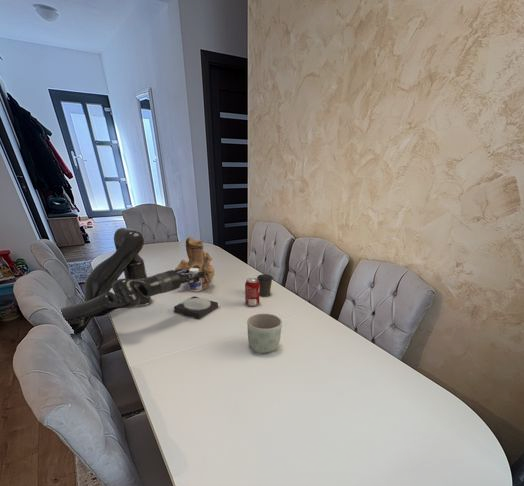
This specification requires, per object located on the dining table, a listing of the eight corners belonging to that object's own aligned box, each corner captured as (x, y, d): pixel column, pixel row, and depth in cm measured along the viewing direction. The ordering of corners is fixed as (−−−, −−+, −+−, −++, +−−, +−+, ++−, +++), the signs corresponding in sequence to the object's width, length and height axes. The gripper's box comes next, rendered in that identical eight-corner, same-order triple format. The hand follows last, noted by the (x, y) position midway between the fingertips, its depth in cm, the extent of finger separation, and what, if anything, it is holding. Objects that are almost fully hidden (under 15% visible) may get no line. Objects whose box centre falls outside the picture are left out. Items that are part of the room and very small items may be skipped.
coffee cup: (253, 294, 157) (253, 275, 152) (263, 290, 162) (264, 271, 157) (264, 298, 153) (265, 279, 147) (275, 294, 158) (276, 275, 152)
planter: (242, 341, 118) (242, 316, 112) (271, 336, 122) (273, 311, 116) (254, 358, 108) (255, 331, 102) (285, 351, 112) (288, 325, 107)
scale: (174, 311, 138) (173, 305, 136) (194, 300, 149) (193, 294, 147) (199, 319, 133) (198, 312, 131) (218, 307, 143) (217, 300, 141)
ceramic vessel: (177, 293, 156) (171, 242, 142) (186, 280, 172) (181, 233, 158) (213, 294, 156) (210, 244, 142) (218, 281, 172) (216, 235, 158)
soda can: (257, 307, 144) (258, 283, 137) (243, 306, 145) (243, 281, 138) (260, 302, 149) (261, 278, 143) (247, 300, 150) (247, 276, 144)
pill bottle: (190, 287, 135) (188, 267, 130) (202, 287, 135) (200, 267, 131) (189, 291, 130) (186, 271, 126) (201, 291, 131) (199, 271, 126)
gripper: (156, 286, 126) (189, 276, 137) (178, 296, 118) (211, 284, 129) (153, 268, 122) (187, 259, 133) (175, 277, 114) (210, 267, 125)
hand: (199, 272), depth 131 cm, fingers closed on pill bottle, 5 cm apart
